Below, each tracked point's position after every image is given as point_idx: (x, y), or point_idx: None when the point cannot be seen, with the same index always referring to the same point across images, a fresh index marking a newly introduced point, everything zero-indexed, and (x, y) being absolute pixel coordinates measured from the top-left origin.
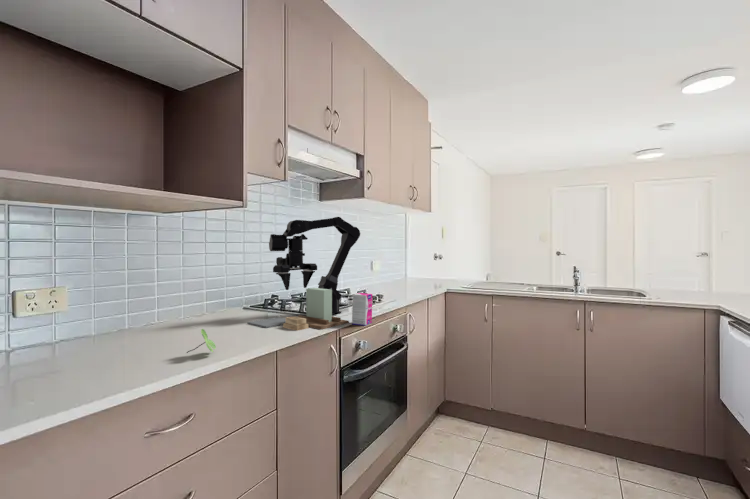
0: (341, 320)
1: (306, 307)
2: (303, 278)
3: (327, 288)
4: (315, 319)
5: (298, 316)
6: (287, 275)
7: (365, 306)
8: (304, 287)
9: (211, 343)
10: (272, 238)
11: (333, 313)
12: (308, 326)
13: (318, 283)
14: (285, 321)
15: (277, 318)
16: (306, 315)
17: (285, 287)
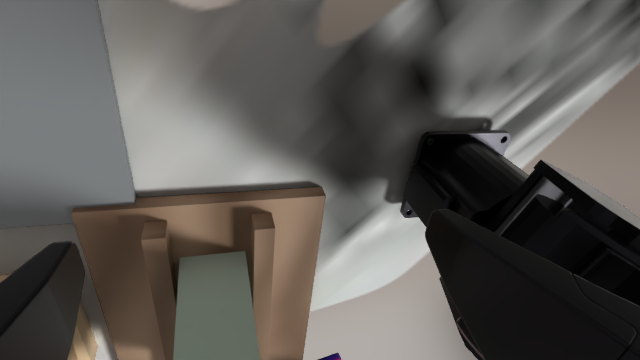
0: (289, 346)
1: (175, 324)
2: (556, 306)
3: (479, 355)
4: (164, 347)
5: (142, 240)
6: None
7: None
8: (430, 225)
9: None
10: None
11: (416, 216)
12: (95, 354)
13: (620, 262)
14: (46, 193)
15: (44, 40)
16: (178, 279)
17: (19, 281)
